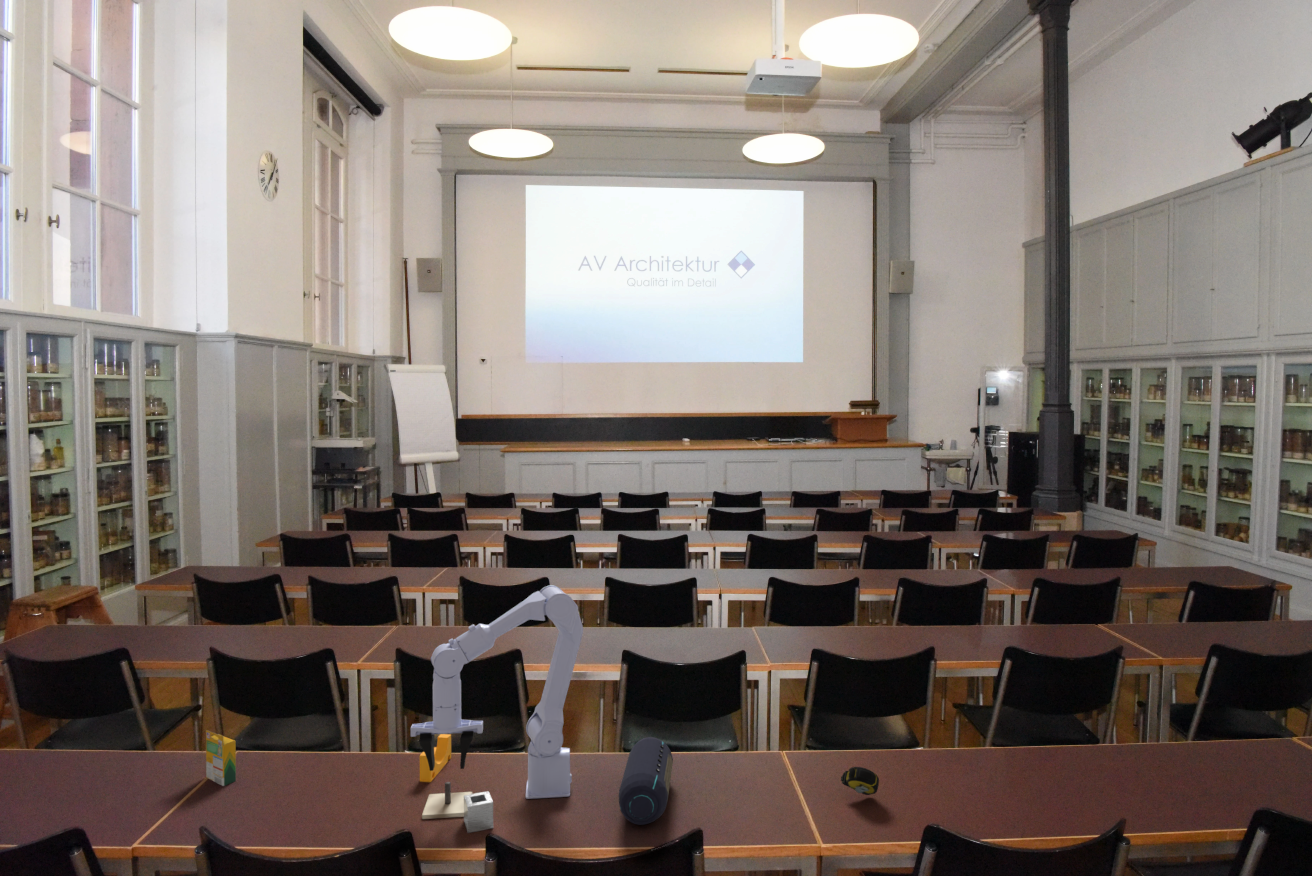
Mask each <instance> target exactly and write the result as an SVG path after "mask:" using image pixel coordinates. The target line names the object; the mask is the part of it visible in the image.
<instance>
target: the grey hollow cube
mask: <svg viewBox="0 0 1312 876" xmlns="http://www.w3.org/2000/svg"><path fill="white" fill-rule="evenodd" d="M463 823H464V825H465V828H466V831H467V832H466V833H467V834H470V833H475V832H480V831H485V830H491V829H494V800H493V798H492V796H491V793H490V792H489V790H487V791H482V792H481V791H480V792H475V793H472V794H469V795H464V816H463Z"/></svg>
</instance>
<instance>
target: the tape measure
mask: <svg viewBox="0 0 1312 876" xmlns="http://www.w3.org/2000/svg"><path fill="white" fill-rule="evenodd" d="M840 781H841V784H842V785H844V786H846V787H847V788H849V789H851V790H853V791H856V793H859V794H862V795H865V796H871V795H874V794H876V793H877V792H878V790H879V786H880V785H879V783H880V779H879V776H878V775H877V774H876V773H875V772H874V771H872V770H871V769H868V768H865V767H861V766H853V767H850V768H849V769H848V770H845V771H843V773H842V775H841V778H840Z"/></svg>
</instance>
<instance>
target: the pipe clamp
mask: <svg viewBox="0 0 1312 876" xmlns="http://www.w3.org/2000/svg"><path fill="white" fill-rule="evenodd" d="M434 757H435V767H434V769H433V771H430V769H429V764H428V760H427V757H426V755H425V753H424V751H422V752H421V753H420V755H419V782H420V783H432V781H433V780H434V779H435V778H436V777H437V775H438V774H439V773H440V772H441V771H442V769H443V768H444V767H445V766H446V764H447V763H448V762H449V760H451V759H452V733H451V734H438V736H437V743H436V746H434Z"/></svg>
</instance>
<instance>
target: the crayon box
mask: <svg viewBox="0 0 1312 876" xmlns="http://www.w3.org/2000/svg"><path fill="white" fill-rule="evenodd" d="M236 746H237V745H236V740H235V739H231V738H229V737H226V736H224V735H222V734H219V733H216V732H214V731H210V730H207V729H205V758H206V759H205V760H206V761H205V766H206V767H205V772H206V773H205V775H206V776H205V778H206V779H209V780H210V781H213V782H214V783H216V784H218V785H220V786H222V787H225V786H228V785H230V784H232V783H234V782H236V781H237V778H236V777H237V771H236V770H237V768H236V767H237V766H236V765H237V764H236V763H237V762H236V759H237V753H236V750H237V749H236Z"/></svg>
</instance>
